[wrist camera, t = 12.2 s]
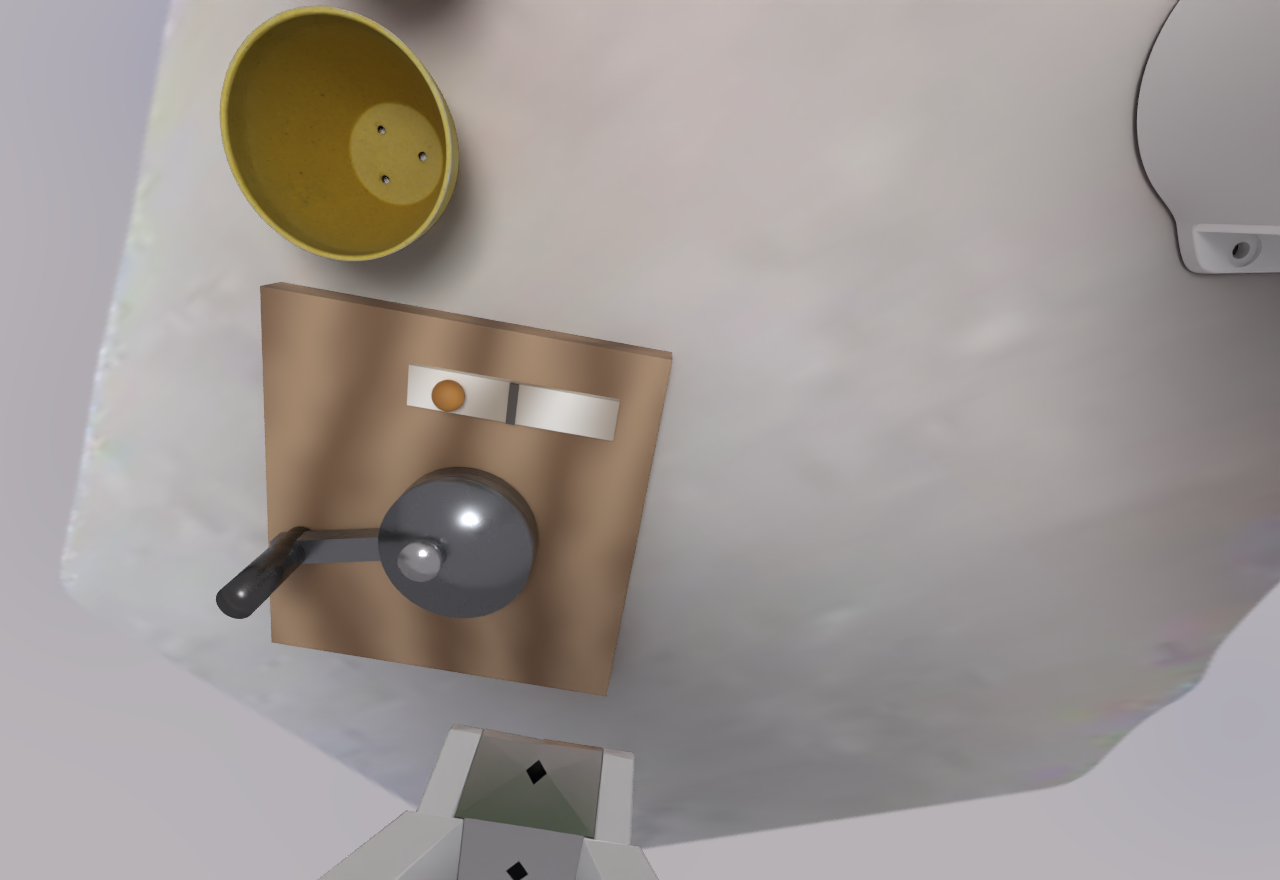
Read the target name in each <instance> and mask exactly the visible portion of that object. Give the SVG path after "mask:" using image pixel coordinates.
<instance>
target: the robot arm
mask: <svg viewBox="0 0 1280 880" xmlns="http://www.w3.org/2000/svg"><path fill="white" fill-rule="evenodd" d="M1137 136H1138V145H1139V150H1140V155H1141V159H1142V162H1143V165H1144V168H1145V171H1146V173H1147V176H1148V178H1149V180H1150V182H1151V184H1152V185H1153V187H1154V189H1155V190H1156V192H1157V193H1158V194H1159V196H1160V197H1161V198H1162V200H1163V201H1164V203H1165V204H1166V205H1167V207H1168V208H1169V209H1170V211H1171V213H1172V214H1173V216H1174V218H1175V220H1176V224H1177V233H1178V240H1179V247H1180V251H1181V256H1182V259H1183V261H1184V264H1185V265H1186V267H1187V268H1188V269H1189V270H1191V271H1192V272H1195V273H1201V274H1214V273H1273V272H1280V0H1180V1H1179V2H1178V4H1177V5H1176V6H1175V8H1174V10H1173V11H1172V13H1171V14H1170V16H1169V17H1168V19H1167V21H1166V23H1165V25H1164V26H1163V28H1162V30H1161V32H1160V34H1159V36H1158V38H1157V40H1156V42H1155V45H1154V47H1153V49H1152V52H1151V54H1150V57H1149V60H1148V62H1147V65H1146V69H1145V72H1144V75H1143V79H1142V84H1141V88H1140V94H1139V100H1138V109H1137ZM1237 244H1238V250H1237V252H1236V254H1235V255H1233V254H1232V251H1233V249H1234V247H1235V246H1236V245H1237ZM634 760H635V758H634V755H633V752H626V751H620V750H613V749H606V748H603V750H602V748H600V747H594V746H587V745H580V744H574V743H567V742H560V741H553V740H547V739H544V740H542V739H537V738H532V737H526V736H521V735H516V734H510V733H505V732H500V731H494V730H489V729H480V728H475V727H470V726H464V725H459V724H454V725H453V726H452V727H451V729H450V730H449V732H448V734H447V737H446V739H445V741H444V744H443V746H442V749H441V751H440V754H439V756H438V759H437V761H436V764H435V766H434V769H433V771H432V774H431V776H430V778H429V781H428V783H427V786H426V788H425V791H424V793H423V796H422V798H421V801H420V803H419V806H418V808H417V811H416V812H414V811H405V812H404V813H403V814H401V815H400V816H399V817H398V818H396V819H395V820H394V821H392V822H391V823H390V824H389V825H387V826H386V827H385V828H383V829H382V830H381V831H380V832H378V833H377V834H376V835H374V836H373V837H372V838H371V839H369V840H368V841H367V842H366V843H364V844H363V845H362V846H360V847H359V848H358V849H357V850H355V851H354V852H353V853H352V854H350V855H349V856H348V857H346V858H345V859H344V860H342V861H341V862H340V863H339V864H337V865H336V866H335V867H334V868H332V869H331V870H330V871H328V872H327V873H326V874H324V875H323V876H322V877H321V878H319V879H318V880H659V879H658V878H657V876H656V874H655V872H654V871H653V869H652V867H651V865H650V863H649V862H648V860H647V858H646V856H645V855H644V853H643V851H642V849H641V848H640V847H638V846H633V845H631V829H632V806H633V783H634Z"/></svg>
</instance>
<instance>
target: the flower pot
mask: <svg viewBox="0 0 1280 880" xmlns="http://www.w3.org/2000/svg"><path fill="white" fill-rule="evenodd" d="M379 126H383V127H384V128H385V131H386V132H385V134H381V133H379V132H378V127H379ZM220 127H221V136H222V142H223V146H224V151H225V154H226V157H227V161H228V163H229V166H230V169H231V171H232V173H233V176H234V178H235V180H236V182H237V183H238V186H239V187H240V190H241V191H242V193H243V194H244V196H245V197H246V199H247V201H248V202H249V203H250V205H251V206H252V207H253V209H254V210H255V211H256V212H257V213H258V215H259V216H260V217H261V218H262V219H263V220H264V221H265V222H266V223H267V224H268V225H269V226H270V227H271V228H273V229H274V230H275V231H276V232H277V233H278V234H279V235H281V236H282V237H284V238H285V239H287V240H288V241H289V242H291V243H293V244H294V245H296V246H298V247H300V248H302V249H304V250H306V251H308V252H311V253H313V254H316V255H319V256H322V257H325V258H329V259H334V260H341V261H367V260H373V259H378V258H381V257H384V256H387V255H390V254H393V253H395V252H397V251H399V250H401V249H403V248H405V247H407V246H408V245H410V244H411V243H413V242H414V241H416V240H417V239H418V238H420V237H421V236H422V235H423V234H425V233H426V232H427V231H428V230H429V229H430V228H431V227H432V226H433V225H434V224H435V222H436V221H437V220H438V219H439V217H440V216H441V215H442V213H443V212H444V210H445V208H446V207H447V205H448V203H449V201H450V199H451V196H452V194H453V191H454V188H455V184H456V180H457V175H458V166H459V148H458V139H457V134H456V129H455V126H454V122H453V119H452V116H451V113H450V111H449V108H448V106H447V103H446V101H445V99H444V97H443V95H442V93H441V91H440V89H439V88H438V86H437V84H436V82H435V81H434V79H433V78H432V76H431V75H430V73H429V72H428V70H427V69H426V68H425V66H424V65H423V64H422V63H421V61H420V60H419V59H418V58H417V56H416V55H415V54H414V53H413V52H412V51H411V50H410V49H409V48H408V47H407V46H406V45H405V44H404V43H403V42H402V41H401V40H400V39H399V38H398V37H397V36H395V35H394V34H393V33H392V32H390V31H389V30H388V29H386V28H385V27H383V26H382V25H380V24H378V23H377V22H375V21H373V20H371V19H369V18H367V17H365V16H363V15H360V14H358V13H355V12H353V11H349V10H345V9H342V8H337V7H332V6H320V5H319V6H304V7H298V8H294V9H290V10H287V11H285V12H281V13H279V14H277V15H275V16H273V17H271V18H270V19H268V20H267V21H265V22H264V23H262V24H261V25H260V26H259V27H257V28H256V29H255V30H254V31H253V32H252V33H251V34H250V35H249V36H247V38H246V39H245V40H244V41H243V43H242V44H241V46H240V47H239V48H238V49H237V51H236V53H235V55H234V57H233V59H232V60H231V62H230V65H229V68H228V70H227V72H226V76H225V80H224V85H223V88H222V93H221V101H220ZM421 152H425V154H426V156H427V159H426V160H425V161H421V160H420V158H419V154H420V153H421ZM384 175H386V176H388V177H389V179H390V182H389V183H388V184H385V183H384V182H383V180H382V178H383V176H384Z"/></svg>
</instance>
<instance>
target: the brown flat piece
mask: <svg viewBox="0 0 1280 880" xmlns="http://www.w3.org/2000/svg"><path fill="white" fill-rule="evenodd" d="M260 293H261V324H262V356H263V387H264V418H265V449H266V480H267V511H268V542H269V547H270V546H271V545H270V541H271V540H272V539H273V538H275V537H276V536H277V535H278V534H279V533H280V532H287V531H289V530H290V529H291V528H293V527H298V526H300V527H305V528H307V529H309V530H311V531H323V530H346V529H370V528H380V526H381V523H382V521H383V518H384V516H385V514H386V513H387V511H388V510H389V509H390V507H391V506H392V505H393V504H394V503H395V502H396V500H397V499H398V498H399V497H400V496H401V495H402V494H403V493H404V492H405V490H406V489H407V488H408V487H409V486H410V485H411V484H412V483H413V482H415V481H416V480H417V479H419V478H420V477H422V476H424V475H425V474H427V473H430V472H432V471H435V470H438V469H442V468H448V467H468V468H475V469H479V470H483V471H486V472H488V473H491V474H493V475H495V476H497V477H499V478H501V479H503V480H504V481H506V482H507V483H509V484H510V485H511V486H512V487H514V488H515V489H516V490H517V491H518V492H519V493H520V494H521V495H522V497H523V498H524V499H525V500H526V502H527V503H528V505H529V506H530V508H531V510H532V512H533V514H534V517H535V520H536V523H537V528H538V538H539V540H538V549H537V553H536V557H535V559H534V562H533V565H532V568H531V571H530V573H529V576H528V579H527V581H526V583H525V585H524V587H523V589H522V590H521V592H520V593H519V594H518V595H517V597H516V598H515V599H514V600H513V601H511V602H510V603H509V604H508V605H506V606H505V607H503V608H502V609H500V610H498V611H496V612H494V613H491V614H488V615H485V616H480V617H475V618H452V617H446V616H442V615H438V614H435V613H432V612H429V611H427V610H425V609H423V608H421V607H419V606H417V605H416V604H414V603H413V602H411V601H410V600H409V599H407V598H406V597H405V596H403V595H402V594H401V593H400V592H399V591H398V590H397V589H396V587H395V586H394V585H393V584H392V582H391V581H390V579H389V578H388V576H387V575H386V573H385V570H384V568H383V566H382V563H381V561H362V562H337V563H312V564H301V565H300V566H299V567H298V568H297V569H296V570H295V571H294V572H293V573H292V574H291V575H290V576H289V577H288V578H287V579H286V580H285V581H284V582H283V583H282V584H281V585H280V586H279V587H278V588H277V589H276V590H275V591H274V592H273V593H272V594H271V595H270V605H271V636H272V642H273V643H279V644H285V645H292V646H298V647H304V648H310V649H316V650H323V651H329V652H335V653H341V654H347V655H354V656H360V657H366V658H372V659H378V660H384V661H391V662H397V663H403V664H409V665H415V666H422V667H428V668H434V669H440V670H446V671H453V672H459V673H465V674H471V675H477V676H483V677H490V678H496V679H502V680H508V681H514V682H521V683H527V684H533V685H539V686H545V687H552V688H558V689H564V690H570V691H576V692H583V693H589V694H595V695H601V696H606V695H607V690H608V685H609V680H610V674H611V669H612V664H613V659H614V654H615V649H616V644H617V639H618V634H619V629H620V624H621V619H622V613H623V608H624V603H625V598H626V593H627V588H628V583H629V578H630V573H631V568H632V563H633V558H634V553H635V547H636V542H637V537H638V532H639V527H640V522H641V517H642V512H643V507H644V502H645V497H646V492H647V487H648V481H649V476H650V471H651V466H652V461H653V456H654V451H655V446H656V441H657V436H658V431H659V426H660V420H661V415H662V410H663V405H664V400H665V395H666V390H667V385H668V380H669V375H670V370H671V365H672V352H666V351H661V350H655V349H650V348H644V347H639V346H633V345H628V344H622V343H616V342H611V341H605V340H600V339H594V338H589V337H583V336H577V335H572V334H566V333H561V332H555V331H550V330H544V329H539V328H533V327H527V326H522V325H516V324H511V323H505V322H500V321H494V320H489V319H483V318H477V317H472V316H466V315H461V314H455V313H450V312H444V311H438V310H433V309H427V308H422V307H416V306H411V305H405V304H400V303H394V302H388V301H383V300H377V299H372V298H366V297H361V296H355V295H349V294H344V293H338V292H333V291H327V290H322V289H316V288H311V287H305V286H299V285H294V284H288V283H283V282H279V283H274V284H269V285H264V286H260Z"/></svg>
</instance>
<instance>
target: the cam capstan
mask: <svg viewBox="0 0 1280 880" xmlns="http://www.w3.org/2000/svg"><path fill="white" fill-rule="evenodd" d="M538 540H539V538H538V528H537V523H536V520H535V517H534V514H533V512H532V510H531V508H530V506H529V505H528V503H527V502H526V500H525V499H524V498H523V497H522V495H521V494H520V493H519V492H518V491H517V490H516V489H515V488H514V487H512V486H511V485H510V484H509V483H507V482H506V481H504V480H503V479H501V478H499V477H497V476H495V475H493V474H491V473H488V472H486V471H483V470H479V469H475V468H468V467H448V468H442V469H438V470H435V471H432V472H430V473H427V474H425V475H424V476H422V477H420V478H419V479H417V480H416V481H415V482H413V483H412V484H411V485H410V486H409V487H408V488H407V489H406V490H405V492H404V493H403V494H402V495H401V496H400V497H399V498H398V499H397V500H396V502H395V503H394V504H393V505H392V506H391V507H390V509H389V510H388V511H387V513H386V514H385V516H384V518H383V521H382V523H381V526H380V528H370V529H346V530H323V531H311V530H309V529H307V528H305V527H300V526H298V527H293V528H291V529H290V530H289V531H287V532H280V533H279V534H278V535H277V536H276V537H275V538H273V539H272V540H271V541H270V545H271V546H270V547H269V548H268V549H267V550H266V551H265V552H263V553H262V554H261V555H260V556H259V557H258V558H256V559H255V560H254V561H253V562H252V563H251V564H250V565H248V566H247V567H246V568H245V569H244V570H243V571H242V572H240V573H239V574H238V575H237V576H236V577H235V578H233V579H232V580H231V581H230V582H229V583H228V584H227V585H225V586H224V587H223V588H222V589H221V590H220V591H219V592H218V593H217V596H216V602H217V605H218V607H219V608H220V610H221V611H222V612H223V613H224V614H226V615H228V616H230V617H232V618H236V619H243V618H246V617H248V616H250V615H251V614H252V613H253V612H254V611H255V610H256V609H257V608H258V607H259V606H260V605H261V604H262V603H263V602H264V601H265V600H266V599H267V598H268V597H269V596H270V595H271V594H272V593H273V592H274V591H275V590H276V589H277V588H278V587H279V586H280V585H281V584H282V583H283V582H284V581H285V580H286V579H287V578H288V577H289V576H290V575H291V574H292V573H293V572H294V571H295V570H296V569H297V568H298V567H299V566H300V565H301V564H312V563H337V562H362V561H381V563H382V566H383V568H384V570H385V573H386V575H387V576H388V578H389V579H390V581H391V582H392V584H393V585H394V586H395V587H396V589H397V590H398V591H399V592H400V593H401V594H402V595H403V596H405V597H406V598H407V599H409V600H410V601H411V602H413V603H414V604H416V605H417V606H419V607H421V608H423V609H425V610H427V611H429V612H432V613H435V614H438V615H442V616H446V617H452V618H475V617H480V616H485V615H488V614H491V613H494V612H496V611H498V610H500V609H502V608H503V607H505V606H506V605H508V604H509V603H510V602H511V601H513V600H514V599H515V598H516V597H517V595H518V594H519V593H520V592H521V590H522V589H523V587H524V585H525V583H526V581H527V579H528V576H529V573H530V571H531V568H532V565H533V562H534V559H535V557H536V553H537V549H538Z"/></svg>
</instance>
